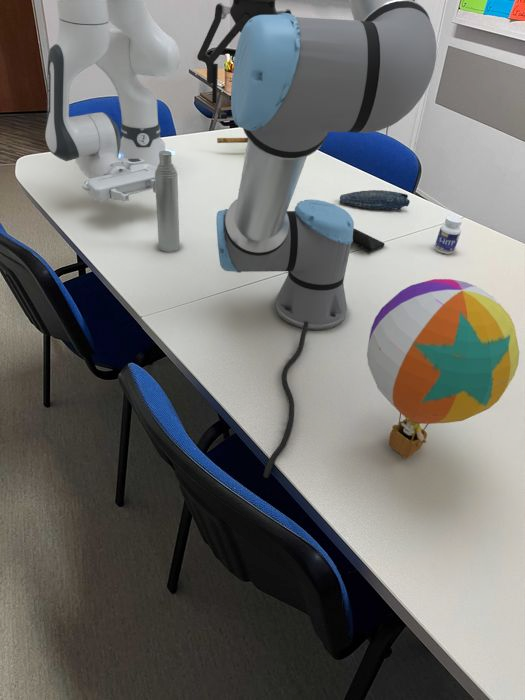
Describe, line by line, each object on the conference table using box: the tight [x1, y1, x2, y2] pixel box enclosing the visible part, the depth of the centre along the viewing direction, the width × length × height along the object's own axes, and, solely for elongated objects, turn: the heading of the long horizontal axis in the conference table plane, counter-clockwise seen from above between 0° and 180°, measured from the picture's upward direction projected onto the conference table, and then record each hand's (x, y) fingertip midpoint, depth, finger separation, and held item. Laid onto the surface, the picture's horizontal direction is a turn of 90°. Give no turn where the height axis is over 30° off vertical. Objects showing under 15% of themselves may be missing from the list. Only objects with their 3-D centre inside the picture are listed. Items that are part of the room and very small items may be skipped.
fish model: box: [339, 189, 411, 211], centre depth 158 cm, size 7×21×5 cm, turn 84°
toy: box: [366, 278, 520, 459], centre depth 74 cm, size 20×20×30 cm
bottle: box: [155, 150, 180, 253], centre depth 123 cm, size 5×5×24 cm
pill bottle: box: [434, 215, 463, 255], centre depth 137 cm, size 5×5×9 cm
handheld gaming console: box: [351, 228, 385, 253], centre depth 138 cm, size 12×7×10 cm
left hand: (143, 194), depth 131 cm, fingers open, 8 cm apart
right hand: (248, 104), depth 104 cm, fingers open, 13 cm apart
